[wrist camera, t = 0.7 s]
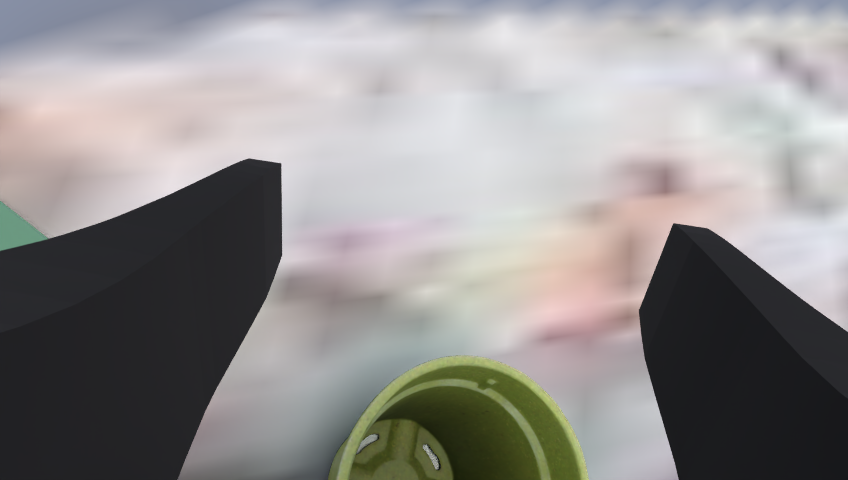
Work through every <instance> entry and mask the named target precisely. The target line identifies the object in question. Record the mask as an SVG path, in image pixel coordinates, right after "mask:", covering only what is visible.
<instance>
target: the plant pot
mask: <svg viewBox="0 0 848 480" xmlns="http://www.w3.org/2000/svg"><path fill="white" fill-rule="evenodd" d="M371 434H378V435H379V439H378V440H376V441H374V442H373V443H371V444H369V445H368V446H366V447H365V448H364V449H362V451H361V452H360V453H359V454H356V453H357V450H358V448H359V446H360V444H361V442H362V440H364V439H365V438H366V437H368V436H369V435H371ZM423 444H424V445H425V444H427V445H429V446H430V448H431V449H432V450H433V452H434V454H436V455H437V457H438V458H439V461H440V464H441V467H440V470H436V469H435V467H434V465H433V463H432V461H431V459H430V458H429V456H428V454H427V453H426V451H425V450H424V449H423ZM328 480H589V478H588V473H587V468H586V463H585V459H584V456H583V452H582V449H581V446H580V444H579V441H578V439H577V437H576V435H575V433H574V431H573V429H572V427H571V425H570V423H569V422H568V420H567V419H566V417H565V416H564V414H563V412H562V410H561V409H560V408H559V406H558V405H557V404H556V403H555V401H554V400H553V399H552V398H551V397H550V396H549V395H548V394H547V393H546V392H545V391H544V390H543V389H542V388H541V387H540V386H539V385H538V384H537V383H536V382H534V381H533V380H532V379H531V378H529V377H528V376H526V375H525V374H524V373H522V372H521V371H519V370H517V369H514V368H512V367H510V366H508V365H506V364H503V363H501V362H498V361H495V360H492V359H488V358H484V357H478V356H466V355H456V356H448V357H443V358H438V359H434V360H431V361H428V362H425V363H423V364H421V365H418V366H416V367H414V368H412V369H410V370H409V371H407V372H405V373H404V374H402V375H401V376H399V377H398V378H396V379H395V380H393V381H392V382H391V383H390V384H389V385H387V386H386V387H385V388H384V389H383V390H382V391H381V392H380V393H379V394H378V395H377V396H376V397H375V398H374V399H373V401H372V402H371V403H370V404H369V406H368V407H367V408H366V410H365V411H364V412H363V413H362V415H361V416H360V418H359V420H358V421H357V423H356V425H355V426H354V428H353V430H352V432H351V433H350V436H349V437H348V438H347V439H346V441H345V442H344V443H343V444H342V445H341V447H340V448H339V450H338V451H337V453H336V455H335V457H334V460H333V462H332V465H331V468H330V472H329V477H328Z"/></svg>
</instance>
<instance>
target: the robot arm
mask: <svg viewBox="0 0 848 480" xmlns="http://www.w3.org/2000/svg"><path fill="white" fill-rule="evenodd" d="M281 257H282V193H281V163H275V162H268V161H262V160H255V159H246V160H243V161H240V162H238V163H235V164H233V165H231V166H229V167H227V168H224V169H222V170H220V171H218V172H216V173H214V174H212V175H210V176H208V177H206V178H204V179H202V180H199V181H197V182H195V183H193V184H191V185H189V186H187V187H185V188H183V189H180V190H178V191H176V192H174V193H172V194H170V195H168V196H165V197H163V198H161V199H158V200H156V201H153V202H151V203H149V204H146V205H144V206H142V207H139V208H137V209H134V210H132V211H130V212H127V213H125V214H123V215H120V216H117V217H115V218H112V219H109V220H107V221H104V222H101V223H98V224H95V225H92V226H89V227H86V228H83V229H80V230H77V231H74V232H70V233H67V234H64V235H61V236H57V237H54V238H50V239H46V240H42V241H38V242H34V243H30V244H26V245H22V246H18V247H14V248H10V249H6V250H2V251H0V480H177V479H178V477H179V474H180V471H181V469H182V466H183V464H184V461H185V459H186V456H187V454H188V451H189V449H190V447H191V444H192V442H193V439H194V437H195V434H196V432H197V430H198V427H199V425H200V422H201V420H202V418H203V415H204V413H205V410H206V408H207V406H208V404H209V402H210V400H211V398H212V396H213V394H214V392H215V390H216V388H217V386H218V385H219V383H220V381H221V379H222V377H223V376H224V374H225V372H226V370H227V368H228V367H229V365H230V363H231V361H232V359H233V358H234V356H235V354H236V352H237V350H238V349H239V347H240V345H241V343H242V341H243V340H244V338H245V336H246V334H247V333H248V331H249V329H250V327H251V325H252V323H253V322H254V320H255V318H256V316H257V314H258V312H259V311H260V309H261V307H262V305H263V303H264V301H265V299H266V297H267V295H268V292H269V290H270V287H271V284H272V282H273V279H274V276H275V274H276V271H277V268H278V265H279V262H280V260H281ZM639 316H640V326H641V335H642V342H643V349H644V356H645V360H646V364H647V368H648V372H649V375H650V379H651V382H652V386H653V389H654V393H655V396H656V400H657V403H658V407H659V410H660V414H661V417H662V420H663V424H664V427H665V431H666V434H667V438H668V441H669V444H670V448H671V451H672V455H673V458H674V462H675V465H676V470H677V474H678V478H679V480H848V332H847V331H846V330H844V329H843V328H841V327H840V326H838V325H837V324H836V323H834V322H833V321H831V320H830V319H828V318H827V317H826V316H824V315H823V314H821V313H820V312H819V311H817V310H816V309H814V308H813V307H812V306H810V305H809V304H808V303H806V302H805V301H804V300H802V299H801V298H800V297H798V296H797V295H796V294H794V293H793V292H792V291H790V290H789V289H788V288H786V287H785V286H784V285H783V284H781V283H780V282H779V281H777V280H776V279H775V278H774V277H772V276H771V275H770V274H769V273H767V272H766V271H765V270H763V269H762V268H761V267H760V266H758V265H757V264H756V263H755V262H753V261H752V260H751V259H749V258H748V257H747V256H746V255H744V254H743V253H742V252H741V251H739V250H738V249H737V248H735V247H734V246H733V245H731V244H730V243H729V242H727V241H726V240H725V239H723V238H722V237H720V236H719V235H717V234H716V233H714V232H713V231H711V230H709V229H707V228H701V227H695V226H688V225H681V224H675V223H673V226H672V228H671V231H670V233H669V236H668V238H667V241H666V243H665V246H664V248H663V251H662V254H661V256H660V259H659V261H658V264H657V266H656V269H655V271H654V274H653V276H652V279H651V281H650V284H649V287H648V289H647V292H646V294H645V297H644V299H643V302H642V304H641V307H640V309H639Z"/></svg>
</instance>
